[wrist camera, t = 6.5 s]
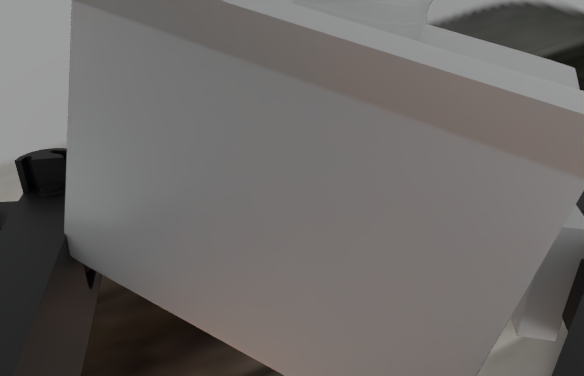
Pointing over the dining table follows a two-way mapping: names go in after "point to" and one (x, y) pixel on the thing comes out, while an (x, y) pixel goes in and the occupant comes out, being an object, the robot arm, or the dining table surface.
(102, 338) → the dining table surface
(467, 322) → the milk carton
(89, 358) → the dining table surface
